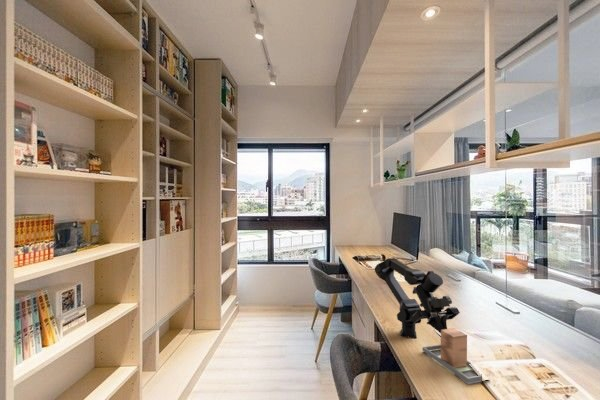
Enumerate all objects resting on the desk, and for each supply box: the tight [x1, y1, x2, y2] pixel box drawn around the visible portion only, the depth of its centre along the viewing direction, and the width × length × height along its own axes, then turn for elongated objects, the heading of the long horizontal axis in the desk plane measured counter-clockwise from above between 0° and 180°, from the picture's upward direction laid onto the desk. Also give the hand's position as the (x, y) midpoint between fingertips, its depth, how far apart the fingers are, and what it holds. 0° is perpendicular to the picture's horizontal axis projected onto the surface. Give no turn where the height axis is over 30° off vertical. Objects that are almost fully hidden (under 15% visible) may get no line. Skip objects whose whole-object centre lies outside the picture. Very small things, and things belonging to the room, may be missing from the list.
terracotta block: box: [440, 327, 468, 368], centre depth 110 cm, size 6×6×11 cm
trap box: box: [422, 343, 483, 386], centre depth 110 cm, size 22×9×2 cm, turn 17°
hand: (446, 337), depth 113 cm, fingers closed, pressing on terracotta block
